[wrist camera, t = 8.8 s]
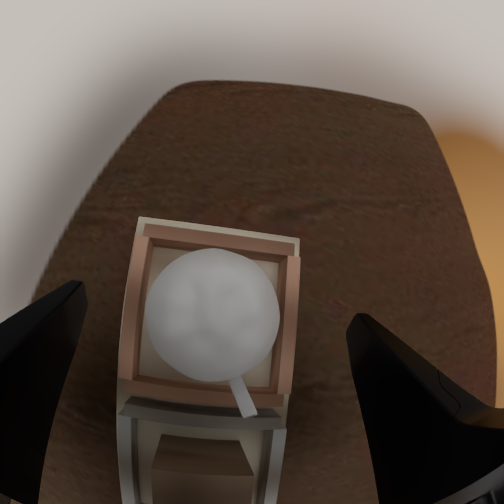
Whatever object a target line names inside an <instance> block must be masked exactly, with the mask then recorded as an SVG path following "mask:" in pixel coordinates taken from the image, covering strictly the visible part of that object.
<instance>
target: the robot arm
mask: <svg viewBox="0 0 504 504" xmlns="http://www.w3.org/2000/svg"><path fill="white" fill-rule="evenodd" d="M87 308H88V300H87V295H86V290H85V285H84V283H83V282H82V281H77V280H71V281H69V282H67V283H66V284H64V285H62V286H60V287H59V288H57V289H55V290H54V291H52V292H50V293H48V294H47V295H45V296H43V297H42V298H40V299H38V300H37V301H35V302H33V303H32V304H30V305H29V306H27V307H25V308H24V309H23V310H20V311H19V312H17V313H16V314H14V315H13V316H11V317H10V318H8V319H6V320H5V321H4V322H2V323H0V504H10V502H11V499H13V500H15V501H17V502H20V503H22V504H38V499H39V490H40V483H41V477H42V471H43V465H44V460H45V457H44V456H45V454H46V449H47V444H48V440H49V435H50V431H51V427H52V423H53V419H54V416H55V412H56V408H57V405H58V401H59V398H60V395H61V392H62V388H63V385H64V382H65V379H66V376H67V373H68V370H69V367H70V364H71V362H72V359H73V356H74V353H75V350H76V347H77V344H78V340H79V336H80V333H81V329H82V325H83V322H84V318H85V315H86V312H87ZM346 340H347V346H348V352H349V358H350V365H351V371H352V376H353V380H354V384H355V388H356V392H357V396H358V400H359V404H360V408H361V412H362V417H363V421H364V426H365V430H366V435H367V439H368V444H369V449H370V454H371V459H372V464H373V469H374V474H375V481H376V487H377V493H378V499H379V504H504V408H503V409H502V408H501V409H500V408H493V407H490V406H488V405H486V404H484V403H483V402H482V401H480V400H479V399H477V398H476V397H474V396H473V395H472V394H470V393H469V392H467V391H466V390H464V389H463V388H462V387H460V386H459V385H457V384H456V383H455V382H453V381H452V380H451V379H450V378H448V377H447V376H446V375H444V374H443V373H442V372H441V371H439V370H437V368H436V367H434V366H433V365H432V364H431V363H429V362H428V361H427V360H426V359H424V358H423V357H422V356H421V355H419V354H418V353H417V352H416V351H414V350H413V349H412V348H411V347H409V346H408V345H407V344H405V343H404V342H403V341H402V340H400V339H399V338H398V337H397V336H395V335H394V334H393V333H391V332H390V331H389V330H388V329H386V328H385V327H384V326H382V325H381V324H380V323H379V322H377V321H376V320H375V319H373V318H372V317H371V316H370V315H368V314H366V313H357V314H356V315H355V316H354V317H353V319H352V321H351V323H350V325H349V327H348V329H347V331H346Z"/></svg>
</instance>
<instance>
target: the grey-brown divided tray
mask: <svg viewBox="0 0 504 504" xmlns="http://www.w3.org/2000/svg"><path fill="white" fill-rule="evenodd" d="M299 240H300V239H299V238H293V237H286V236H279V235H273V234H266V233H259V232H252V231H245V230H238V229H231V228H224V227H216V226H209V225H202V224H194V223H187V222H179V221H171V220H163V219H155V218H147V217H139V219H138V224H137V229H136V233H135V238H134V243H133V248H132V254H131V259H130V265H129V271H128V277H127V284H126V290H125V297H124V305H123V313H122V322H121V332H120V343H119V356H118V372H117V409H116V415H117V451H118V466H119V478H120V488H121V496H122V504H276V501H277V495H278V488H279V482H280V476H281V469H282V462H283V455H284V448H285V440H286V432H287V429H286V428H285V427H286V418H287V409H288V400H289V394H291V388H292V377H293V367H294V355H295V343H296V329H297V315H298V298H299V280H300V257H299ZM209 248H217V249H223V250H227V251H230V252H233V253H236V254H239V255H242V256H244V257H247V258H249V259H250V260H252V261H254V262H255V263H256V264H257V265H258V266H259V267H260V268H261V269H262V270H263V271H264V272H265V273H266V275H267V276H268V278H269V279H270V281H271V283H272V285H273V287H274V290H275V293H276V296H277V300H278V305H279V311H280V323H279V329H278V333H277V336H276V339H275V342H274V344H273V346H272V348H271V350H270V351H269V353H268V355H267V356H266V357H265V358H264V360H263V361H262V362H261V363H260V364H259V365H257V366H256V367H255V368H253V369H252V370H250V371H249V372H247V373H245V374H243V375H241V377H242V379H243V381H244V383H245V385H246V387H247V390H248V392H249V394H250V396H251V398H252V400H253V403H254V405H255V407H256V409H257V411H258V415H256V416H253V417H250V418H247V419H243V418H242V416H241V413H240V411H239V408H238V406H237V403H236V401H235V398H234V395H233V393H232V390H231V387H230V385H229V382H228V380H224V381H216V382H206V381H199V380H195V379H192V378H190V377H187V376H185V375H184V374H182V373H180V372H179V371H177V370H176V369H174V368H173V367H172V366H170V365H169V364H168V363H166V362H165V361H164V360H163V359H162V358H161V357H160V356H159V355H158V353H157V352H156V350H155V349H154V347H153V344H152V342H151V339H150V336H149V333H148V329H147V324H146V318H145V305H146V299H147V296H148V293H149V290H150V288H151V286H152V284H153V283H154V281H155V280H156V278H157V277H158V276H159V274H160V273H161V272H162V271H163V270H164V269H165V268H166V267H167V266H168V265H169V264H170V263H171V262H173V261H174V260H176V259H177V258H179V257H181V256H183V255H185V254H187V253H190V252H193V251H197V250H201V249H209Z"/></svg>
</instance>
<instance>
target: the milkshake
mask: <svg viewBox="0 0 504 504" xmlns="http://www.w3.org/2000/svg"><path fill="white" fill-rule="evenodd" d="M145 318H146V324H147V329H148V333H149V336H150V339H151V342H152V344H153V347H154V349H155V350H156V352H157V353H158V355H159V356H160V357H161V358H162V359H163V360H164V361H165V362H166V363H168V364H169V365H170V366H172V367H173V368H174V369H176V370H177V371H179V372H180V373H182V374H184V375H185V376H187V377H190V378H192V379H195V380H199V381H206V382H216V381H224V380H228V382H229V385H230V387H231V390H232V393H233V395H234V398H235V401H236V403H237V406H238V408H239V411H240V413H241V416H242V418H243V419H247V418H250V417H253V416H256V415H258V411H257V409H256V407H255V405H254V403H253V400H252V398H251V396H250V394H249V392H248V390H247V387H246V385H245V383H244V381H243V379H242V377H241V375H243V374H245V373H247V372H249V371H250V370H252V369H253V368H255V367H256V366H257V365H259V364H260V363H261V362H262V361H263V360H264V358H265V357H266V356H267V355H268V353H269V351H270V350H271V348H272V346H273V344H274V342H275V339H276V336H277V333H278V329H279V323H280V311H279V305H278V300H277V296H276V293H275V290H274V287H273V285H272V283H271V281H270V279H269V278H268V276H267V275H266V273H265V272H264V271H263V270H262V269H261V268H260V267H259V266H258V265H257V264H256V263H255V262H254V261H252V260H250V259H249V258H247V257H244V256H242V255H239V254H236V253H233V252H230V251H227V250H223V249H217V248H209V249H201V250H197V251H193V252H190V253H187V254H185V255H183V256H181V257H179V258H177V259H176V260H174V261H173V262H171V263H170V264H169V265H168V266H167V267H166V268H165V269H164V270H163V271H162V272H161V273H160V274H159V276H158V277H157V278H156V280H155V281H154V283H153V284H152V286H151V288H150V290H149V293H148V296H147V299H146V305H145Z"/></svg>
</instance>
